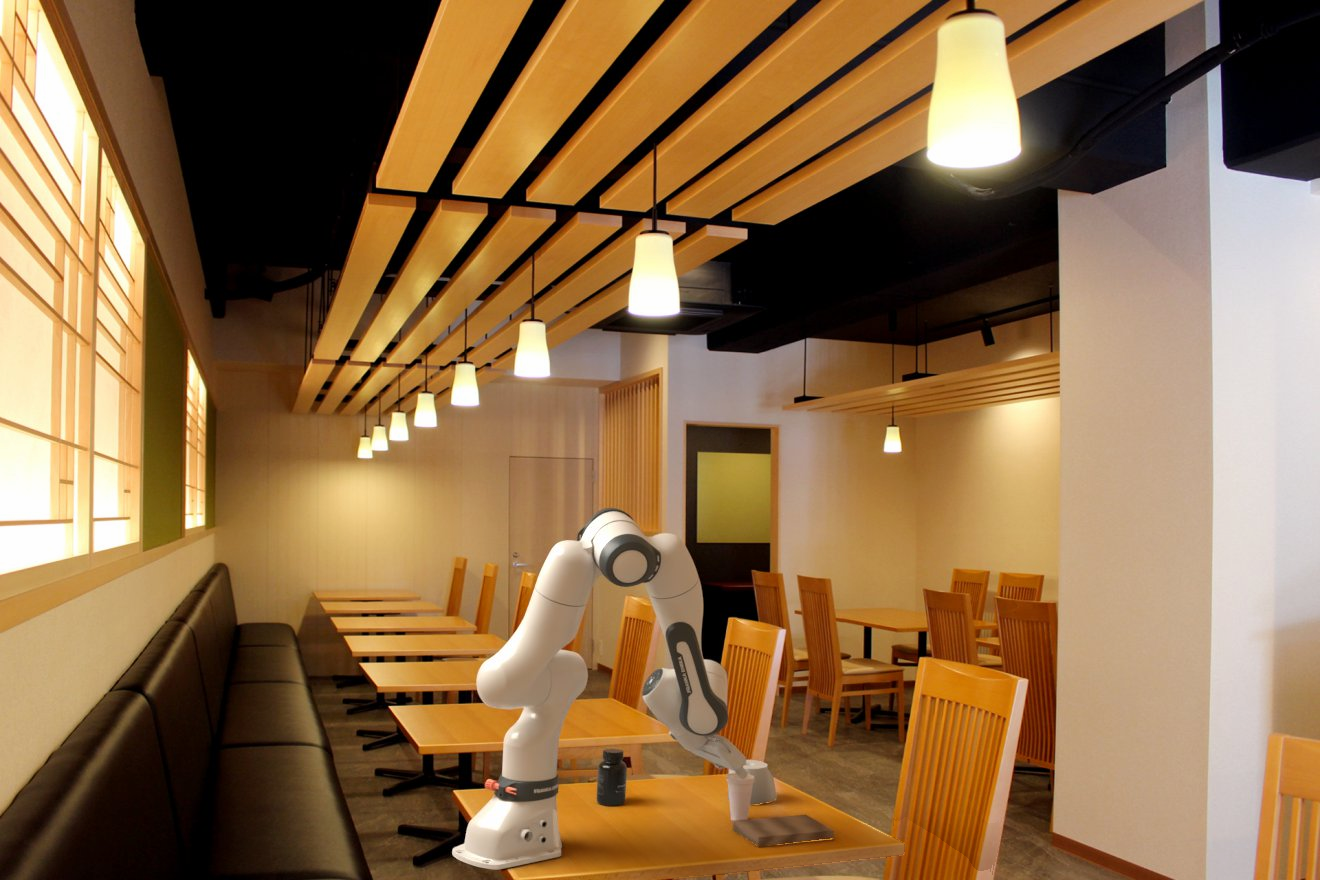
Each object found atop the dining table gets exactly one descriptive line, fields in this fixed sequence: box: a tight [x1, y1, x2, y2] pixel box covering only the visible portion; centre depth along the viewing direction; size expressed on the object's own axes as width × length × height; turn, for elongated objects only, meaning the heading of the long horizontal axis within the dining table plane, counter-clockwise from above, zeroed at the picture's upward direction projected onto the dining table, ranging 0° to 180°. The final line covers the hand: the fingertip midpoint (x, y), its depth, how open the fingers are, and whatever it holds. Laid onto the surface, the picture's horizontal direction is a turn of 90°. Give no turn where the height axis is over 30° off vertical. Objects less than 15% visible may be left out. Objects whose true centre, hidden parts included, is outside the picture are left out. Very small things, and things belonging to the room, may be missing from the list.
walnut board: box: [732, 814, 835, 848], centre depth 227 cm, size 18×12×2 cm, turn 112°
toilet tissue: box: [727, 759, 778, 805], centre depth 254 cm, size 9×13×9 cm
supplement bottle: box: [596, 748, 628, 807], centre depth 247 cm, size 7×7×12 cm
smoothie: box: [725, 773, 755, 822], centre depth 237 cm, size 6×6×14 cm
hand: (733, 771), depth 235 cm, fingers open, 8 cm apart
